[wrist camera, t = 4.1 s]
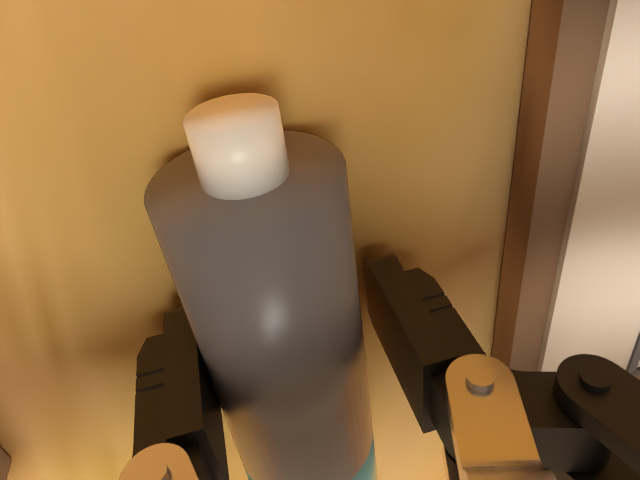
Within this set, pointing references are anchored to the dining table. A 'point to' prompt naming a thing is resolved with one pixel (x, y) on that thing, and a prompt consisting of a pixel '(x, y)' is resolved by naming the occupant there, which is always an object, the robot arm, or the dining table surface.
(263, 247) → the marker
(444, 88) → the dining table surface
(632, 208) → the framed square panel
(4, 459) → the button base
